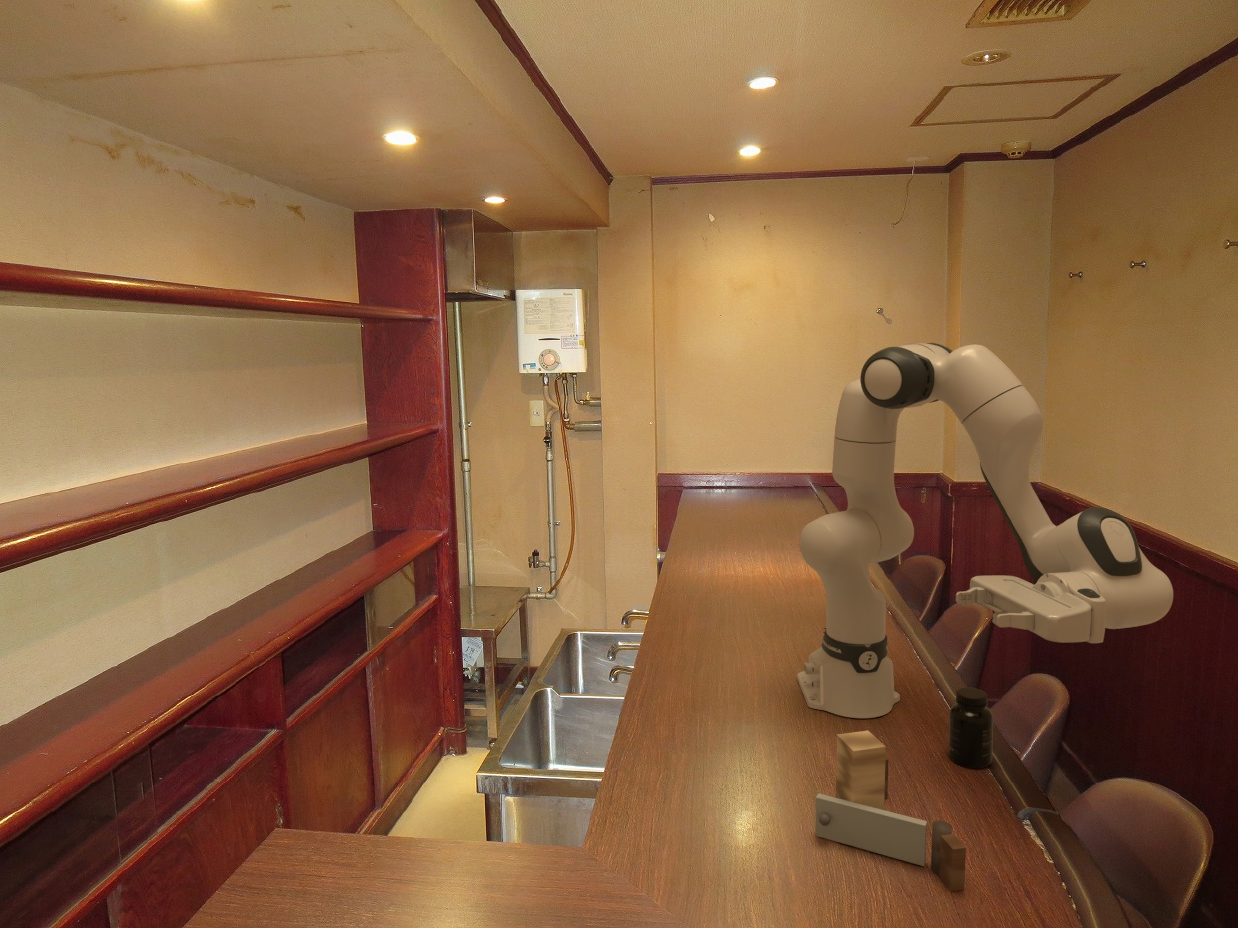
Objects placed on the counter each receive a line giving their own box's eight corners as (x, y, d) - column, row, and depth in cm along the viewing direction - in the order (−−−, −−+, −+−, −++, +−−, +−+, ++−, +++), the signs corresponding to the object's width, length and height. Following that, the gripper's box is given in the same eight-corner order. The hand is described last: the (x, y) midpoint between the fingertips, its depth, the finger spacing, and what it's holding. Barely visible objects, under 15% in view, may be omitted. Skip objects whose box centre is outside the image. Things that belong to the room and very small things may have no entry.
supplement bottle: (980, 748, 142) (983, 683, 140) (999, 768, 136) (1002, 700, 134) (941, 750, 142) (943, 684, 140) (958, 770, 135) (961, 702, 134)
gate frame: (860, 782, 133) (861, 745, 132) (874, 780, 133) (875, 743, 132) (949, 891, 106) (950, 845, 105) (966, 889, 107) (968, 843, 106)
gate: (925, 861, 112) (927, 821, 111) (922, 872, 110) (923, 832, 109) (817, 831, 120) (818, 793, 119) (812, 841, 117) (812, 802, 116)
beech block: (835, 822, 122) (836, 734, 120) (865, 817, 123) (867, 730, 121) (851, 841, 117) (853, 751, 115) (883, 836, 118) (885, 746, 116)
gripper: (1020, 563, 131) (939, 568, 129) (1114, 603, 111) (1020, 610, 109) (1018, 601, 132) (937, 607, 130) (1111, 647, 112) (1018, 655, 110)
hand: (976, 609), depth 119 cm, fingers open, 8 cm apart
